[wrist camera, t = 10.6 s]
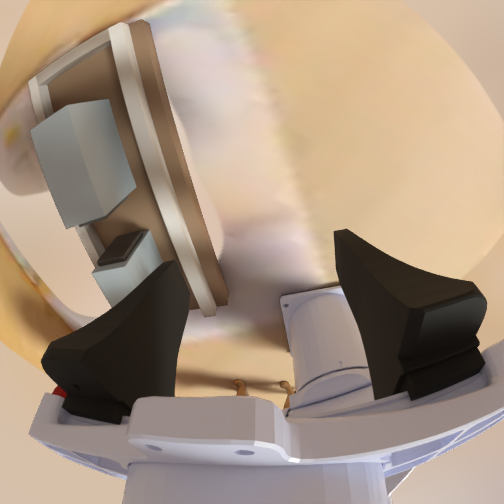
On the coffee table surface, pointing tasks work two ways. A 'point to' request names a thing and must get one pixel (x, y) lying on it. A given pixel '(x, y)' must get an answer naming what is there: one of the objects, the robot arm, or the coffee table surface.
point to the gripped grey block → (83, 162)
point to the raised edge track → (136, 167)
